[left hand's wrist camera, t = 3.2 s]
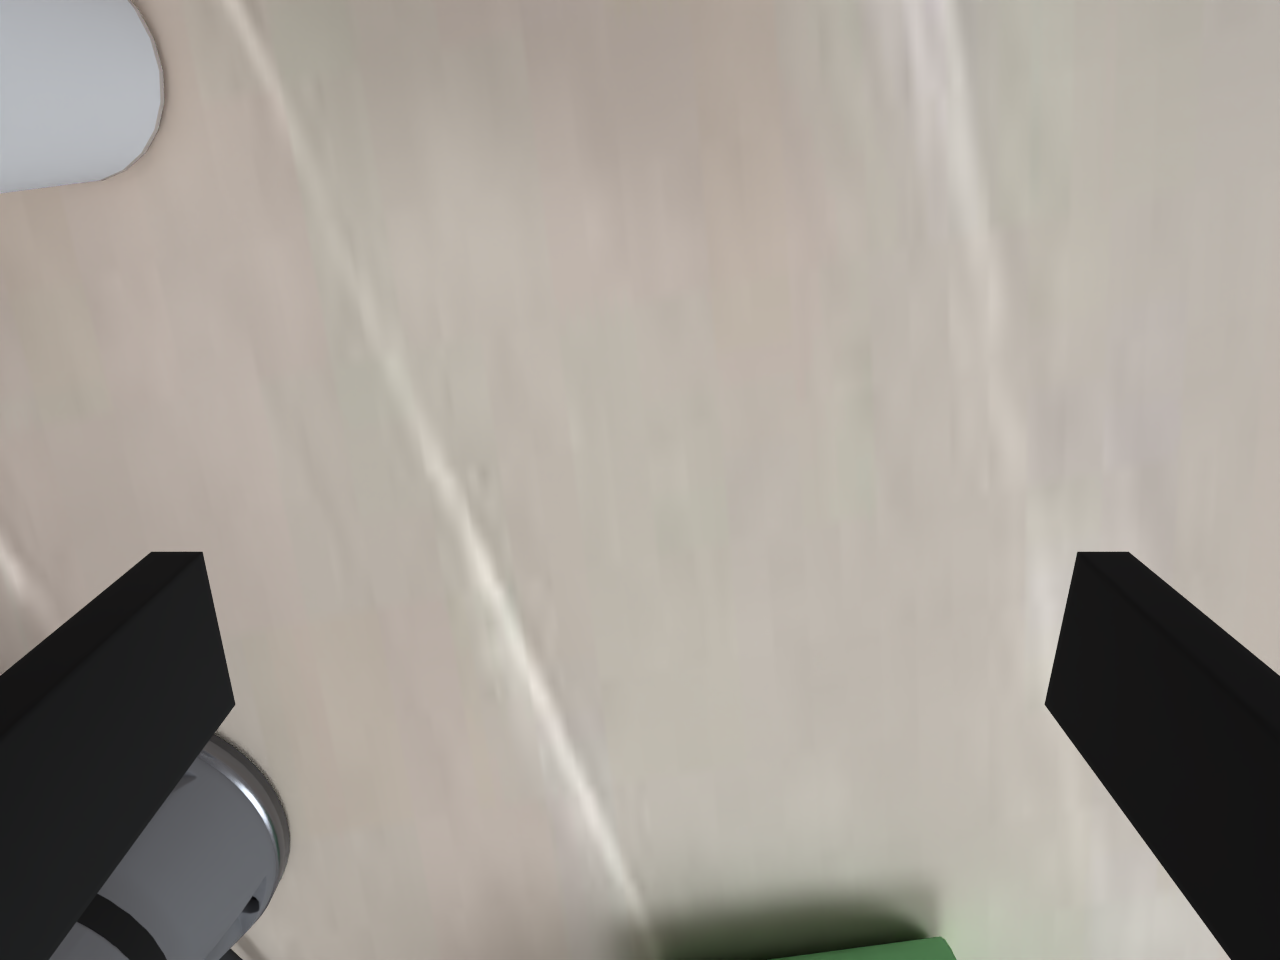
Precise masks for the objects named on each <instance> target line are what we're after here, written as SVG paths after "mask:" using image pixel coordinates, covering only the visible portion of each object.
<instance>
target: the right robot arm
mask: <svg viewBox="0 0 1280 960" xmlns="http://www.w3.org/2000/svg"><path fill="white" fill-rule="evenodd" d="M289 851H290V835H289V827H288V823H287V818H286V815H285V812H284V809H283V807H282V805H281V803H280V800H279V798H278V796H277V795H276V793H275V791H274V790H273V788H272V786H271V785H270V783H269V782H268V781H267V779H266V778H265V777H264V775H263V774H262V773H261V772H260V771H259V770H258V769H257V767H256V766H255V765H254V764H253V763H252V762H251V761H249V760H248V759H247V758H246V757H245V756H244V755H243V754H242V753H240V752H239V751H238V750H237V749H235V748H234V747H233V746H232V745H230V744H229V743H227V742H226V741H224V740H223V739H221V738H220V737H218V736H216V735H214V734H213V736H212V737H211V739H210V740H209V741H208V743H207V744H206V745H205V747H204V748H203V749H202V751H201V752H200V754H199V755H198V756H197V758H196V759H195V760H194V762H193V763H192V765H191V766H190V767H189V769H188V770H187V771H186V773H185V774H184V776H183V777H182V778H181V780H180V781H179V782H178V784H177V785H176V786H175V788H174V789H173V791H172V792H171V793H170V795H169V796H168V797H167V799H166V800H165V802H164V803H163V804H162V806H161V807H160V808H159V810H158V811H157V812H156V814H155V815H154V817H153V818H152V819H151V821H150V822H149V823H148V825H147V826H146V828H145V829H144V830H143V832H142V833H141V834H140V836H139V837H138V838H137V840H136V841H135V843H134V844H133V845H132V847H131V848H130V849H129V851H128V852H127V854H126V855H125V856H124V858H123V859H122V860H121V862H120V863H119V864H118V866H117V867H116V869H115V870H114V871H113V873H112V874H111V875H110V877H109V878H108V880H107V881H106V882H105V884H104V885H103V886H102V888H101V889H100V890H99V892H98V893H97V895H96V896H95V897H94V899H93V900H92V901H91V903H90V904H89V906H88V907H87V908H86V910H85V911H84V912H83V914H82V915H81V916H80V918H79V919H78V921H77V922H76V923H75V925H74V926H73V927H72V929H71V930H70V932H69V933H68V934H67V936H66V937H65V938H64V940H63V941H62V942H61V944H60V945H59V947H58V948H57V949H56V951H55V952H54V953H53V955H52V956H51V958H50V959H49V960H242V959H241V958H240V957H239V956H238V955H237V954H236V953H235V952H234V951H232V950H231V949H230V948H231V947H232V946H233V945H234V944H235V943H236V942H237V941H238V940H239V939H240V938H241V937H242V936H243V935H244V934H245V933H246V932H247V931H248V930H249V929H250V928H251V926H252V925H253V924H254V923H255V922H256V921H257V920H258V919H259V917H260V916H261V915H262V914H263V912H264V911H265V909H266V908H267V906H268V904H269V902H270V900H271V898H272V896H273V894H274V892H275V890H276V888H277V886H278V884H279V882H280V880H281V878H282V876H283V874H284V871H285V868H286V865H287V862H288V857H289Z"/></svg>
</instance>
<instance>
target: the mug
mask: <svg viewBox="0 0 1280 960" xmlns="http://www.w3.org/2000/svg"><path fill="white" fill-rule="evenodd" d="M163 107H164V79H163V69H162V66H161V62H160V58H159V55H158V51H157V48H156V44H155V40H154V38H153V36H152V35H151V33H150V31H149V29H148V27H147V25H146V23H145V21H144V19H143V17H142V16H141V14H140V12H139V10H138V9H137V7H136V6H135V5H134V4H133V2H132V1H131V0H0V193H8V192H16V191H23V190H31V189H39V188H46V187H54V186H62V185H69V184H77V183H85V182H93V181H102V180H105V179H108V178H110V177H112V176H114V175H117V174H119V173H121V172H123V171H126V170H127V169H128V168H130V167H131V166H132V165H133V164H134V163H135V162H136V161H137V160H138V159H139V158H140V157H142V156H143V155H144V154H145V153H146V151H147V149H148V147H149V146H150V144H151V142H152V140H153V139H154V137H155V135H156V133H157V131H158V129H159V125H160V120H161V116H162V111H163Z"/></svg>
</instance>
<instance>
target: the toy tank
mask: <svg viewBox="0 0 1280 960" xmlns="http://www.w3.org/2000/svg"><path fill="white" fill-rule="evenodd" d="M769 960H956V958H955V956H954V954H953V952H952V950H951V948H950V947H949V945H948V944H947V942H946V941H945V939H943V938H942V937H933V938H926V939H919V940H911V941H904V942H896V943H889V944H881V945H874V946H866V947H859V948H851V949H844V950H836V951H829V952H822V953H814V954H807V955H799V956H792V957H784V958H777V959H769Z"/></svg>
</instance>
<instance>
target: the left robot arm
mask: <svg viewBox="0 0 1280 960" xmlns="http://www.w3.org/2000/svg"><path fill="white" fill-rule="evenodd" d="M234 706H235V701H234V696H233V691H232V687H231V682H230V677H229V673H228V668H227V664H226V659H225V654H224V650H223V645H222V640H221V636H220V631H219V626H218V622H217V617H216V612H215V608H214V603H213V598H212V594H211V589H210V584H209V580H208V575H207V571H206V566H205V561H204V557H203V552H151V553H149V554H148V555H147V556H146V557H145V558H143V559H142V560H141V561H140V562H138V563H137V564H136V565H135V566H134V567H132V568H131V569H130V570H129V571H128V572H126V573H125V574H124V575H123V576H121V577H120V578H119V579H118V580H117V581H115V582H114V583H113V584H112V585H110V586H109V587H108V588H107V589H106V590H104V591H103V592H102V593H101V594H99V595H98V596H97V597H96V598H95V599H93V600H92V601H91V602H90V603H89V604H87V605H86V606H85V607H84V608H82V609H81V610H80V611H79V612H78V613H76V614H75V615H74V616H73V617H71V618H70V619H69V620H68V621H67V622H65V623H64V624H63V625H62V626H61V627H59V628H58V629H57V630H56V631H54V632H53V633H52V634H51V635H50V636H48V637H47V638H46V639H45V640H43V641H42V642H41V643H40V644H39V645H37V646H36V647H35V648H34V649H33V650H31V651H30V652H29V653H28V654H26V655H25V656H24V657H23V658H22V659H20V660H19V661H18V662H17V663H15V664H14V665H13V666H12V667H11V668H9V669H8V670H7V671H6V672H5V673H3V674H2V675H1V676H0V960H49V959H50V958H51V956H52V955H53V953H54V952H55V951H56V949H57V948H58V947H59V945H60V944H61V942H62V941H63V940H64V938H65V937H66V936H67V934H68V933H69V932H70V930H71V929H72V927H73V926H74V925H75V923H76V922H77V921H78V919H79V918H80V916H81V915H82V914H83V912H84V911H85V910H86V908H87V907H88V906H89V904H90V903H91V901H92V900H93V899H94V897H95V896H96V895H97V893H98V892H99V890H100V889H101V888H102V886H103V885H104V884H105V882H106V881H107V880H108V878H109V877H110V875H111V874H112V873H113V871H114V870H115V869H116V867H117V866H118V864H119V863H120V862H121V860H122V859H123V858H124V856H125V855H126V854H127V852H128V851H129V849H130V848H131V847H132V845H133V844H134V843H135V841H136V840H137V838H138V837H139V836H140V834H141V833H142V832H143V830H144V829H145V828H146V826H147V825H148V823H149V822H150V821H151V819H152V818H153V817H154V815H155V814H156V812H157V811H158V810H159V808H160V807H161V806H162V804H163V803H164V802H165V800H166V799H167V797H168V796H169V795H170V793H171V792H172V791H173V789H174V788H175V786H176V785H177V784H178V782H179V781H180V780H181V778H182V777H183V776H184V774H185V773H186V771H187V770H188V769H189V767H190V766H191V765H192V763H193V762H194V760H195V759H196V758H197V756H198V755H199V754H200V752H201V751H202V749H203V748H204V747H205V745H206V744H207V743H208V741H209V740H210V739H211V737H212V736H213V734H214V733H215V732H216V730H217V729H218V728H219V726H220V725H221V723H222V722H223V721H224V719H225V718H226V717H227V715H228V714H229V713H230V711H231V710H232V708H233V707H234ZM1045 706H1046V707H1047V708H1048V710H1049V711H1050V713H1051V714H1052V715H1053V717H1054V718H1055V719H1056V721H1057V722H1058V723H1059V725H1060V726H1061V728H1062V729H1063V730H1064V732H1065V733H1066V734H1067V736H1068V737H1069V739H1070V740H1071V741H1072V743H1073V744H1074V745H1075V747H1076V748H1077V749H1078V751H1079V752H1080V754H1081V755H1082V756H1083V758H1084V759H1085V760H1086V762H1087V763H1088V765H1089V766H1090V767H1091V769H1092V770H1093V771H1094V773H1095V774H1096V776H1097V777H1098V778H1099V780H1100V781H1101V782H1102V784H1103V785H1104V786H1105V788H1106V789H1107V791H1108V792H1109V793H1110V795H1111V796H1112V797H1113V799H1114V800H1115V802H1116V803H1117V804H1118V806H1119V807H1120V808H1121V810H1122V811H1123V812H1124V814H1125V815H1126V817H1127V818H1128V819H1129V821H1130V822H1131V823H1132V825H1133V826H1134V828H1135V829H1136V830H1137V832H1138V833H1139V834H1140V836H1141V837H1142V838H1143V840H1144V841H1145V843H1146V844H1147V845H1148V847H1149V848H1150V849H1151V851H1152V852H1153V854H1154V855H1155V856H1156V858H1157V859H1158V860H1159V862H1160V863H1161V864H1162V866H1163V867H1164V869H1165V870H1166V871H1167V873H1168V874H1169V875H1170V877H1171V878H1172V880H1173V881H1174V882H1175V884H1176V885H1177V886H1178V888H1179V889H1180V890H1181V892H1182V893H1183V895H1184V896H1185V897H1186V899H1187V900H1188V901H1189V903H1190V904H1191V906H1192V907H1193V908H1194V910H1195V911H1196V912H1197V914H1198V915H1199V916H1200V918H1201V919H1202V921H1203V922H1204V923H1205V925H1206V926H1207V927H1208V929H1209V930H1210V932H1211V933H1212V934H1213V936H1214V937H1215V938H1216V940H1217V941H1218V942H1219V944H1220V945H1221V947H1222V948H1223V949H1224V951H1225V952H1226V953H1227V955H1228V956H1229V958H1230V959H1231V960H1280V676H1279V675H1278V674H1277V673H1275V672H1274V671H1273V670H1272V669H1271V668H1269V667H1268V666H1267V665H1266V664H1265V663H1263V662H1262V661H1261V660H1260V659H1258V658H1257V657H1256V656H1255V655H1254V654H1252V653H1251V652H1250V651H1249V650H1247V649H1246V648H1245V647H1244V646H1243V645H1241V644H1240V643H1239V642H1238V641H1237V640H1235V639H1234V638H1233V637H1232V636H1230V635H1229V634H1228V633H1227V632H1226V631H1224V630H1223V629H1222V628H1221V627H1219V626H1218V625H1217V624H1216V623H1215V622H1213V621H1212V620H1211V619H1210V618H1209V617H1207V616H1206V615H1205V614H1204V613H1202V612H1201V611H1200V610H1199V609H1198V608H1196V607H1195V606H1194V605H1193V604H1191V603H1190V602H1189V601H1188V600H1187V599H1185V598H1184V597H1183V596H1182V595H1181V594H1179V593H1178V592H1177V591H1176V590H1174V589H1173V588H1172V587H1171V586H1170V585H1168V584H1167V583H1166V582H1165V581H1163V580H1162V579H1161V578H1160V577H1159V576H1157V575H1156V574H1155V573H1154V572H1152V571H1151V570H1150V569H1149V568H1148V567H1146V566H1145V565H1144V564H1143V563H1142V562H1140V561H1139V560H1138V559H1137V558H1135V557H1134V556H1133V555H1132V554H1131V553H1129V552H1077V557H1076V561H1075V566H1074V571H1073V575H1072V580H1071V584H1070V589H1069V594H1068V598H1067V603H1066V608H1065V612H1064V617H1063V622H1062V626H1061V631H1060V636H1059V640H1058V645H1057V650H1056V654H1055V659H1054V663H1053V668H1052V673H1051V677H1050V682H1049V687H1048V691H1047V696H1046V701H1045Z"/></svg>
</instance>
